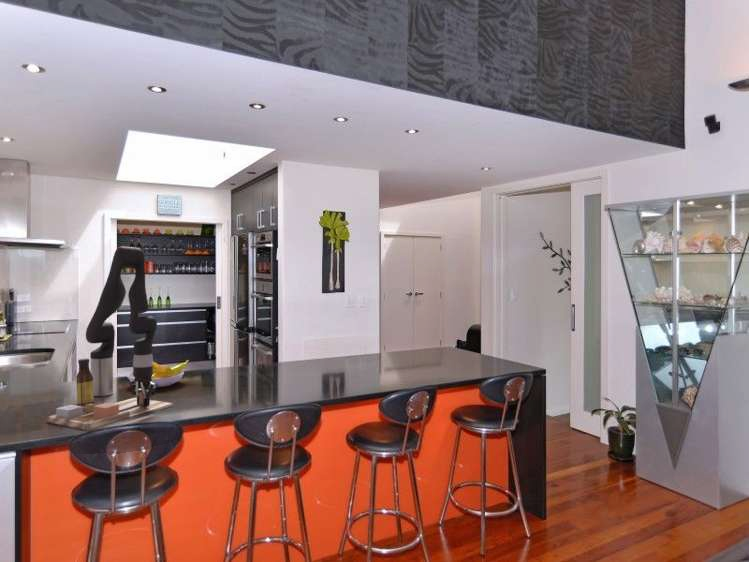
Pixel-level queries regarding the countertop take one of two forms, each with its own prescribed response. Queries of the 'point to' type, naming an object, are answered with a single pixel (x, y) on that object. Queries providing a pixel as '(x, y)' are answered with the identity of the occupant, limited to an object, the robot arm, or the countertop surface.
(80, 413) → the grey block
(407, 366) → the countertop surface
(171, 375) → the fruit bowl
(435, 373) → the countertop surface
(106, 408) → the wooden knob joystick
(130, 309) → the robot arm
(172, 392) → the countertop surface
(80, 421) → the wooden backboard
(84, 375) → the sauce bottle
